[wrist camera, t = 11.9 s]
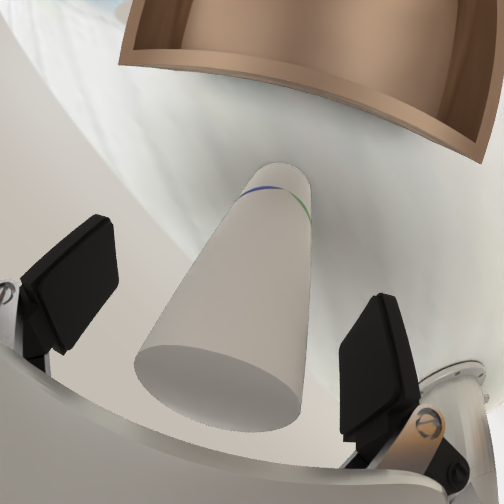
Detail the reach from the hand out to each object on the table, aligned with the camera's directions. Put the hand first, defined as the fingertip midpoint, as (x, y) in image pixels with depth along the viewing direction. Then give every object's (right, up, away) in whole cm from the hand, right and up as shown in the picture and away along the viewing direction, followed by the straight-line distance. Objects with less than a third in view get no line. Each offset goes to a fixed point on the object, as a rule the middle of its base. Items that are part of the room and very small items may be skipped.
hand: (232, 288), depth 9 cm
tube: (+3, +5, +10) cm, 11 cm away
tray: (+6, +17, +2) cm, 18 cm away
